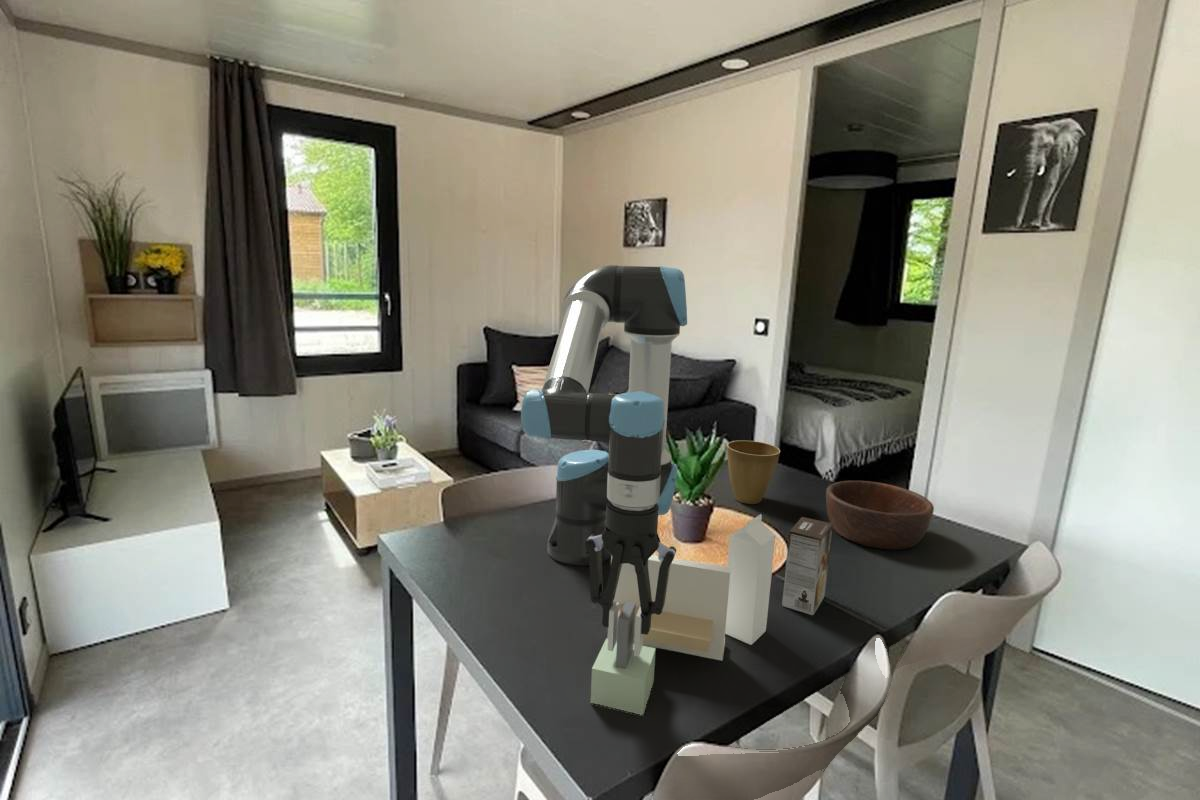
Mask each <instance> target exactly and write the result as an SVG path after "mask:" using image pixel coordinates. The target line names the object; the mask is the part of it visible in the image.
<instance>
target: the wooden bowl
mask: <svg viewBox="0 0 1200 800" xmlns="http://www.w3.org/2000/svg"><path fill="white" fill-rule="evenodd" d="M825 492H826V493H825V499H826V500H825V501H826V513H827V517H828V520H829V523H832V524H833V529H832V530H834V531H835V532H836V534H838V535H839V536H841V537H842V536H843V538H844V539H845V540H848V541H850V540H851V541H850V542H853V543H856V544H857V545H861V546H865V547H869V548H873V549H874V548H875V549H879V550H890V551H892V550H894V551H895V550H896V551H897V550H906V549H909V548H910V549H911V548H912V547H914V546H916V545H917V544H918V543H919V542H920V541H922V538H923V537H924V536H925V535H926V533H927V531H928V529H929V526H930V524H931V521H932V518H933V515H934V512H935V508H934V507H935V506H934V505H933V503H932V502H931V500H929V499H928V498H927V497H925V496H923V495H921V494H919V493H917V492H915V491H914V490H913V491H912V490H909V489H907V488H903V487H900V486H897V485H893V484H888V483H882V482H877V481H869V480H841V481H838V482H834V483H831V484H830V485H829V486H827V488H826V491H825Z"/></svg>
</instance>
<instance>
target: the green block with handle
mask: <svg viewBox="0 0 1200 800" xmlns="http://www.w3.org/2000/svg"><path fill="white" fill-rule="evenodd" d="M635 608H636V603H635V602H630V601H626V602H625V605H624V607H623V609H622V611H621V613H620V615H619V617H618V632H617V642H616V644H615V646H614V649H613V651H609V650H608V637H606V638H605V640H604V642H603V644H602V646H601V649H600V650H599V653H598V654H597V656H596V659H595V661H594V663H593V666H592V667H591V682H590V704H591V703H595V704H600V705H604V706H608V707H612V708H616V709H620V710H624V711H628V712H633V713H636V714H640V715H639V716H641V715H643V714H645V710H646V708H647V705H646V704H648V702H647V701H649V698H650V695H651V692H650V691H652V689H651V688H653V686H654V685H653V684H654V683H655V682H654V681H655V666H656V649H657V648H656V647H651V646H646V645H643V647H642V649H641V652H640V655H639V657H638V656H634V644H635V643H634V627H635ZM628 712H627V713H628ZM636 714H635V715H636ZM643 716H644V715H643Z"/></svg>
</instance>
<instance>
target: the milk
mask: <svg viewBox="0 0 1200 800" xmlns="http://www.w3.org/2000/svg"><path fill="white" fill-rule="evenodd" d="M762 516H763V515H762V514H758V515H757V516H755V517H754V518H752V519H751V520H748V522H746V524H745V525H743V526H742V527H741V528H739V529H738V530H736V531H734V532H733V533H732V534H730V535H729V540H728V550H727V551H728V553H727V564H726V567H731V573H730V584H729V596H728V607H727V618H726V630H725V635H727V636H730V637H732V638H734V639H736V640H739V641H741V642H743V643H745V644H748V645H750V646H752V645H753V644H754V643H755V642H757V640H759V638H760V637H761V636H762V635H764V634H765V633H766V631H767V622H768V613H769V605H770V604H769V603H770V594H771V584H772V575H773V563H774V555H775V547H776V546H775V544H776V534H775V533H774V532H773V531H772V530H771V529H770V528H769V527H768V526H766V525H765V523H763V522H762V519H763V518H762Z"/></svg>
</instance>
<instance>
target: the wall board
mask: <svg viewBox="0 0 1200 800" xmlns="http://www.w3.org/2000/svg"><path fill="white" fill-rule="evenodd" d="M658 556H659V555H656V554H652V555H651V557H650V558H649V559H648V572H649V580H650V588H651V596H652V602H653V601H655V596H656V589H657V582H658V575H659V568H660V565H661V561H660V560H659V559H658ZM612 558H613V557H612V555H611V557H610V563H611V562H612ZM730 573H731V567H727V566H723V565H717V564H712V563H705V562H699V561H693V560H686V559H680V558H675V557H674V559H673V561H672V563H671V564H670V570H669V577H668V584H667V591H666V598H665V604H664V607H663V610H662V613H661V614H659V615H657V614H652V615H651V627H650V630H649V633H648V635H645V634H643V646H647V647H652V648H656V649H660V650H661V649H662V650H667V651H671V652H672V651H673V652H677V653H683V654H687V655H691V656H695V657H696V656H698V657H701V658H707V659H711V660H716V661H723V659H724V653H725V652H724V651H725V645H726V634H725V630H726V618H727V607H728V596H729V584H730ZM626 601H630V602H635V603H636V608H635V626H636V615H637V612H638V610H639V608H640V607H641V606H640V598H639V590H638V582H637V574H636V572H635V566H634V565H631V564H629V563H624V564H622V567H621V571H620V576H619V580H618V584H617V588H616V593H615V598H614V600H613V603H614V602H618V603H619V607H618V617H619V615H620V613H621V611H622V609H623V607H624V605H625V602H626ZM608 629H609V627H607V630H608ZM617 632H618V628H617ZM634 644H635V627H634Z"/></svg>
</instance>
